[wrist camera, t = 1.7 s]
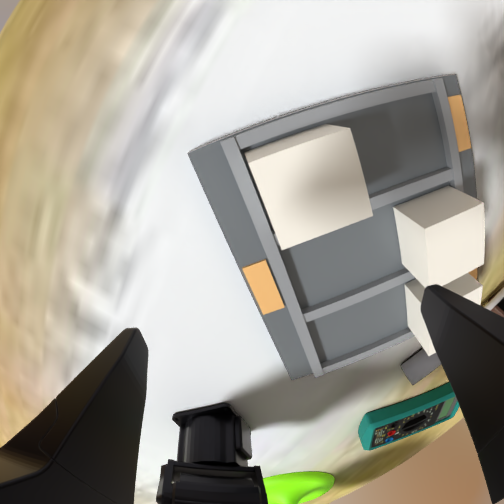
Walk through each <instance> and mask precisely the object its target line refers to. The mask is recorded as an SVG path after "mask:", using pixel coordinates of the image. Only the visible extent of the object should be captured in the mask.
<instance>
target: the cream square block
mask: <svg viewBox="0 0 504 504" xmlns="http://www.w3.org/2000/svg"><path fill="white" fill-rule="evenodd" d="M244 153H245V156H246V159H247V162H248V164H249V167H250V169H251V172H252V174H253V177H254V179H255V182H256V184H257V187H258V190H259V192H260V195H261V197H262V200H263V202H264V205H265V208H266V210H267V213H268V215H269V218H270V221H271V223H272V226H273V228H274V231H275V234H276V236H277V239H278V242H279V244H280V247H281V250H284V249H287V248H289V247H292V246H295V245H297V244H300V243H303V242H305V241H308V240H311V239H313V238H316V237H319V236H321V235H324V234H327V233H329V232H332V231H335V230H337V229H340V228H343V227H345V226H348V225H350V224H353V223H356V222H358V221H361V220H364V219H366V218H369V217H372V216H373V213H372V208H371V204H370V200H369V195H368V191H367V187H366V183H365V179H364V175H363V171H362V168H361V164H360V160H359V157H358V153H357V150H356V146H355V143H354V139H353V136H352V133H351V129H350V128H347V127H341V126H334V125H327V124H324V125H321V126H318V127H315V128H312V129H309V130H306V131H303V132H300V133H297V134H294V135H291V136H288V137H285V138H282V139H279V140H276V141H274V142H271V143H268V144H265V145H263V146H260V147H257V148H254V149H252V150H249V151H247V152H244Z"/></svg>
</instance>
